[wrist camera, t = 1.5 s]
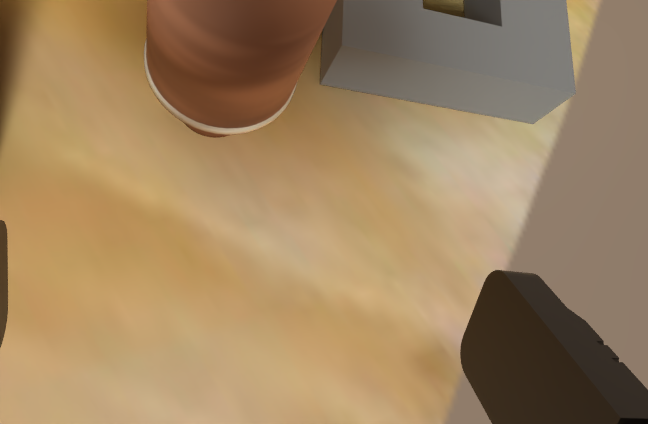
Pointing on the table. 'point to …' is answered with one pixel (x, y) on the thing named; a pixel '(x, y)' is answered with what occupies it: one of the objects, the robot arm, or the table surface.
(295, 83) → the peg
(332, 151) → the table surface
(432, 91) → the board
